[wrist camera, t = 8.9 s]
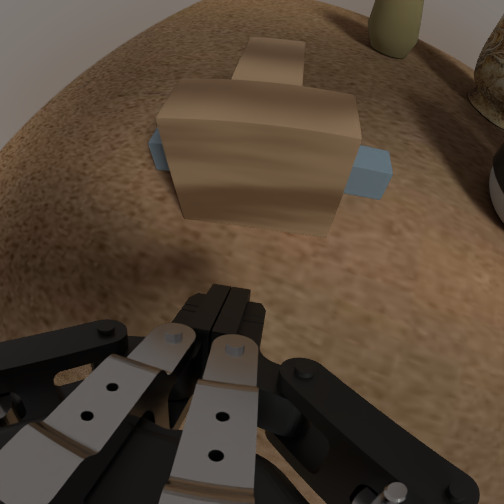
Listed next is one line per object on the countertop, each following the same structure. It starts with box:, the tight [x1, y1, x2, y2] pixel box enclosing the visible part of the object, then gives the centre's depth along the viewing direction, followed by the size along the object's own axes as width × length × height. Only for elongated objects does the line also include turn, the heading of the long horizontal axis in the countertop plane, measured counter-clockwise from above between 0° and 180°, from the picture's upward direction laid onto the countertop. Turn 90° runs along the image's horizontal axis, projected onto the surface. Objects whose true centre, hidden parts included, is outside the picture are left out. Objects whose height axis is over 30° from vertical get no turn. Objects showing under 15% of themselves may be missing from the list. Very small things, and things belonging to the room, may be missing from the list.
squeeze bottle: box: [368, 0, 424, 58], centre depth 30 cm, size 8×8×18 cm
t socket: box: [148, 127, 393, 200], centre depth 24 cm, size 10×18×3 cm, turn 80°
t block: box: [156, 37, 362, 238], centre depth 20 cm, size 11×10×9 cm
